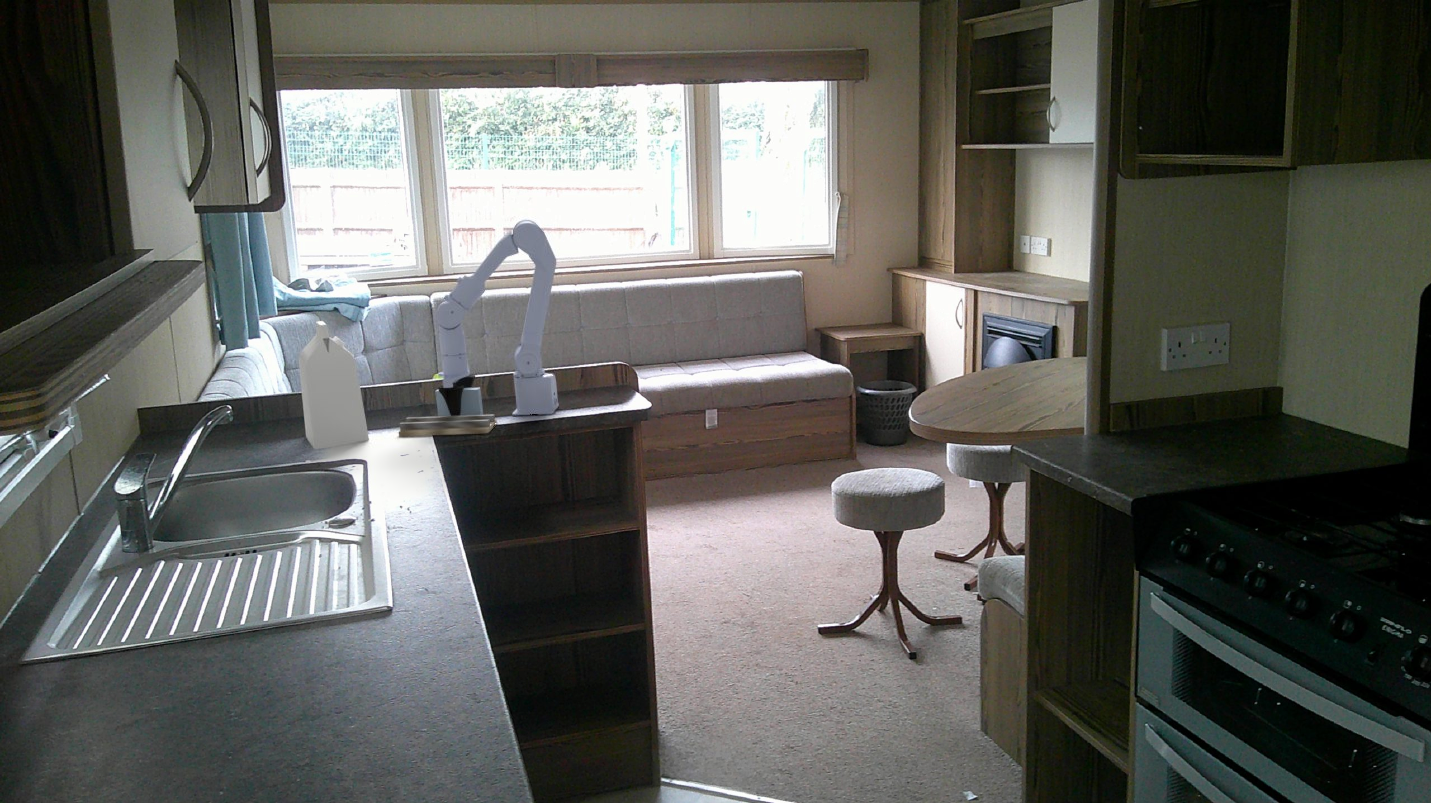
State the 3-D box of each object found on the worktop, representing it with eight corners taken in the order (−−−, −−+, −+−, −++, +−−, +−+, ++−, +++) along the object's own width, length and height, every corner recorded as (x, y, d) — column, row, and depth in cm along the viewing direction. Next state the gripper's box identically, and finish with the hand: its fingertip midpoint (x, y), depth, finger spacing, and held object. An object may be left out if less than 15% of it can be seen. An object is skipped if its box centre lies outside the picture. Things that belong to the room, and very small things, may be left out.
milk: (306, 437, 256) (289, 322, 249) (358, 428, 261) (343, 316, 254) (314, 449, 245) (297, 330, 239) (369, 440, 250) (353, 323, 244)
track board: (497, 423, 258) (495, 412, 258) (487, 433, 250) (486, 422, 250) (410, 426, 260) (409, 415, 259) (398, 436, 252) (397, 425, 251)
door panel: (483, 416, 265) (480, 387, 264) (481, 419, 263) (477, 389, 262) (441, 418, 266) (437, 389, 264) (438, 420, 264) (435, 391, 262)
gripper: (446, 347, 268) (452, 403, 272) (426, 361, 254) (433, 419, 258) (475, 346, 268) (481, 402, 271) (457, 359, 254) (464, 418, 257)
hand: (460, 411), depth 264 cm, fingers open, 7 cm apart
